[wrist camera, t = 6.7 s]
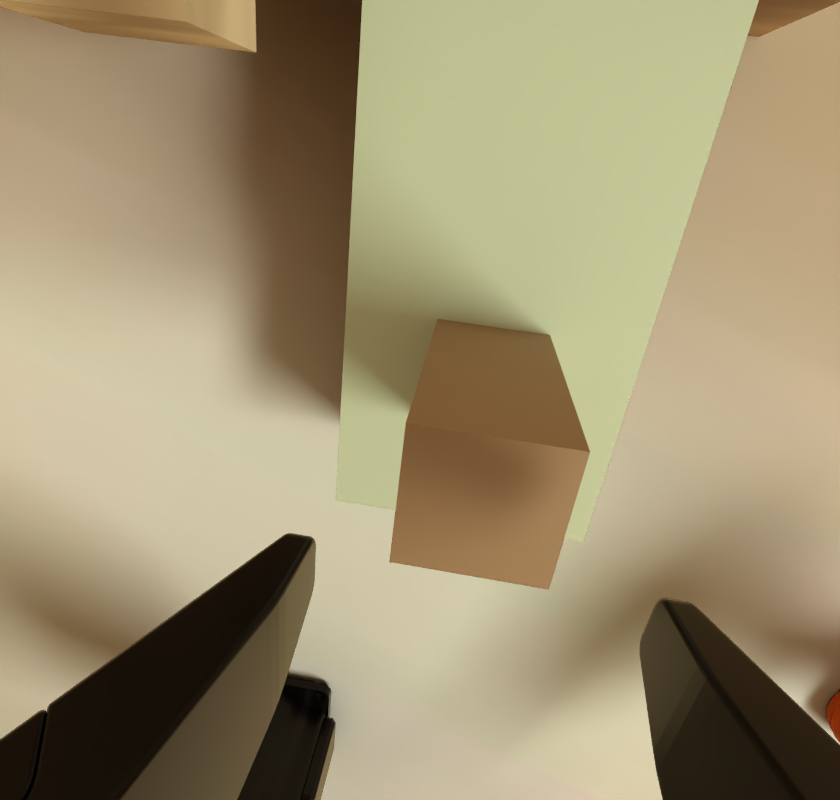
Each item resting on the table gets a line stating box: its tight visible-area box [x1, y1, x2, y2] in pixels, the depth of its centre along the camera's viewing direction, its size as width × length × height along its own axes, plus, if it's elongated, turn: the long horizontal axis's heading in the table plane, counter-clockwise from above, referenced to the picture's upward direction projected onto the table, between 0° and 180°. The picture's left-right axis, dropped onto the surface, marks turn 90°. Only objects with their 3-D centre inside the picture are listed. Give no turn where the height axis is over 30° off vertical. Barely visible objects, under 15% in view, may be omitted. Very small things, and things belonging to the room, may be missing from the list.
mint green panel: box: [336, 0, 759, 589], centre depth 12 cm, size 8×14×8 cm, turn 173°
